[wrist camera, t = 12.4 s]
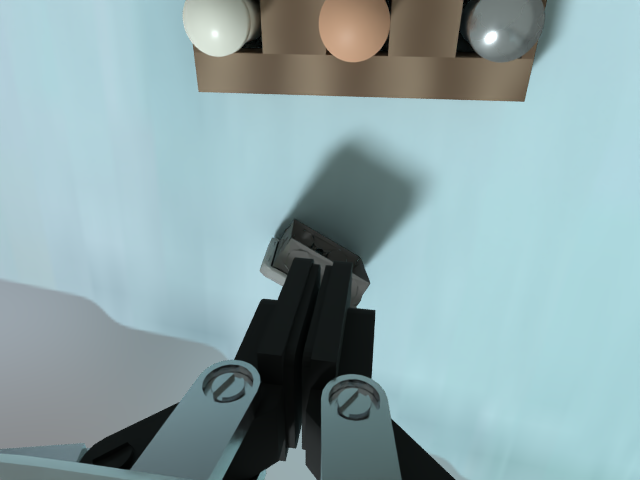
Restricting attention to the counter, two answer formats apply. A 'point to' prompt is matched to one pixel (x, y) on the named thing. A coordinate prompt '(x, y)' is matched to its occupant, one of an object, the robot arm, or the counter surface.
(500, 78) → the socket board
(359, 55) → the plug terracotta
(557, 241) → the counter surface
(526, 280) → the counter surface
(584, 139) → the counter surface
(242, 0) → the plug ivory
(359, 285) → the electrical switch
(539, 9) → the plug grey
